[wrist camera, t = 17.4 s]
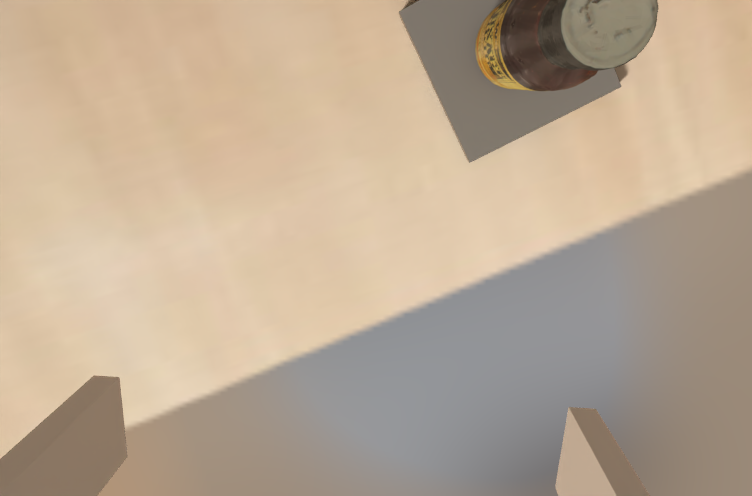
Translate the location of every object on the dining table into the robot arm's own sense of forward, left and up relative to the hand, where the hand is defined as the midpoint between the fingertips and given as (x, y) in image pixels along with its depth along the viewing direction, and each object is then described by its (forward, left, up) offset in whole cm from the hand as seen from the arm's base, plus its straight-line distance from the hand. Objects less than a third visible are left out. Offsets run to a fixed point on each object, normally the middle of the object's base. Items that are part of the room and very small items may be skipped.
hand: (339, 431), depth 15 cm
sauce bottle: (-7, +15, -31) cm, 35 cm away
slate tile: (-7, +15, -32) cm, 36 cm away
